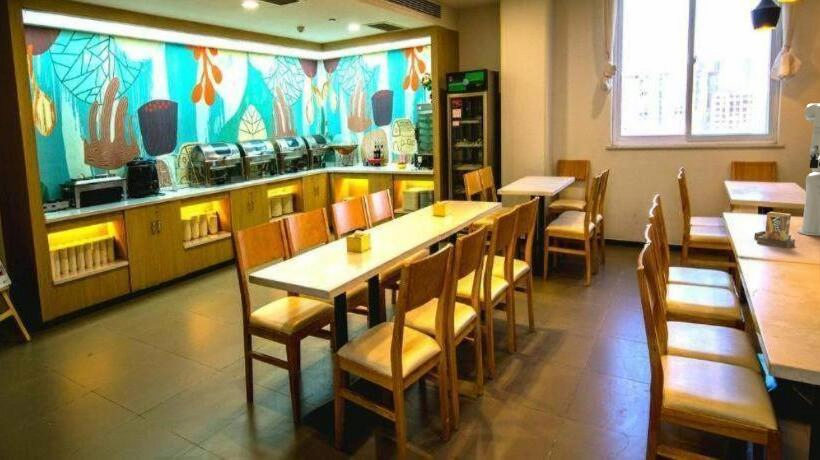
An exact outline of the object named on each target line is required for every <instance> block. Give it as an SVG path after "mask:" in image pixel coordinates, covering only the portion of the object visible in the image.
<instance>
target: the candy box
mask: <svg viewBox="0 0 820 460" xmlns="http://www.w3.org/2000/svg"><path fill="white" fill-rule="evenodd" d="M791 217H792V213H784V212H775V211H769V212H767V213H766V223H765V238H768V239H774V240H781V241H788V236H789V235H790V225H791Z"/></svg>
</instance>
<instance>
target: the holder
mask: <svg viewBox="0 0 820 460" xmlns="http://www.w3.org/2000/svg"><path fill="white" fill-rule="evenodd" d="M765 231H766V230H765ZM765 231H764V230H761V231H758V232H755V233H754V240H757V241H756V244H760V245H765V246H771V247H777V248H782V249H788V248H791V247H793V246H795V241H796V240H795V239H793V238H792V235H791V234H789V236H788V241H781V240H774V239H768V238H765Z"/></svg>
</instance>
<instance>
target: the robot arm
mask: <svg viewBox="0 0 820 460" xmlns="http://www.w3.org/2000/svg"><path fill="white" fill-rule="evenodd" d="M804 118H805V120H806V121H807V122H809V123H813V129H812V135H811V142H810V147H809V156H810V160H809V161H810V162H809V168H810V169H811V171H812V172H811V173H809V174H808V175H807V176H806V178H805V202H804V209H803V216H802V224H801V228H798V229H797V232H798V234H802V235H806V236H813V237H814V236H815V237H817V236H818V237H820V102H819V103H818V102H817V103H809V104H807V105H806V107H805V108H804Z"/></svg>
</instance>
